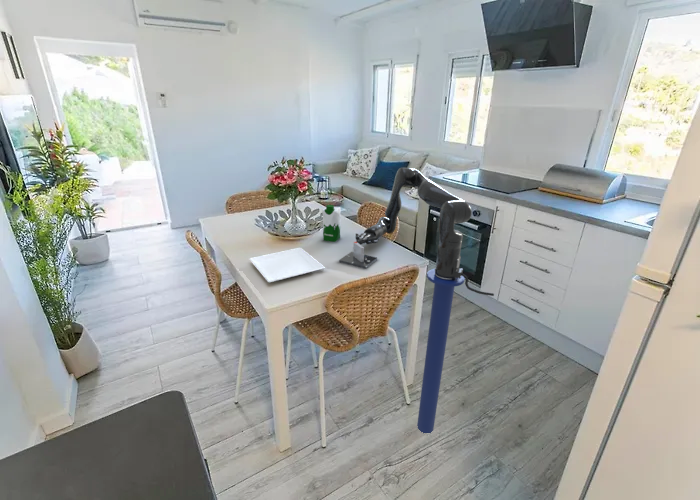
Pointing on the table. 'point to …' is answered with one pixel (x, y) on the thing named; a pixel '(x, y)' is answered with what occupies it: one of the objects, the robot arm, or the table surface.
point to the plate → (285, 264)
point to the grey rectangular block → (358, 251)
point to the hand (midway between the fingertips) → (358, 243)
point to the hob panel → (353, 261)
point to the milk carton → (331, 223)
